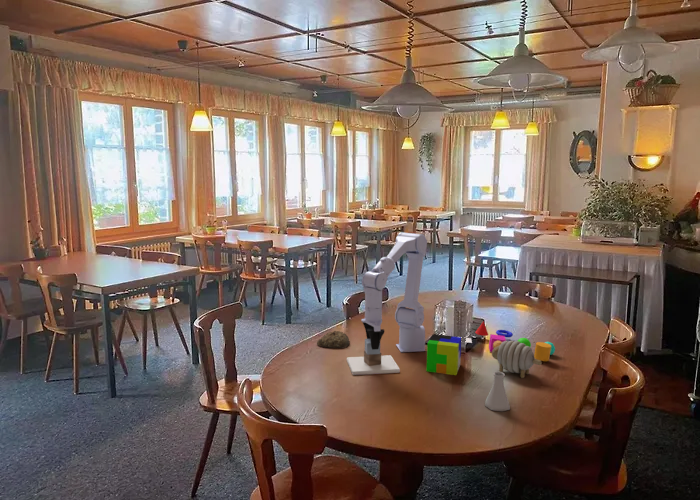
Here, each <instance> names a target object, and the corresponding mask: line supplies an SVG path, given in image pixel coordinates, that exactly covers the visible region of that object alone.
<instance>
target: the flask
mask: <svg viewBox="0 0 700 500" xmlns="http://www.w3.org/2000/svg"><path fill="white" fill-rule="evenodd" d="M493 376H494V378H493V382H492V386H491V387H490V391H489V393H488V395H487V397H486V399H485V401H484V406H485V407H486V408H488V409H489V410H491V411H496V412H505V411H509V410H511V408H510V402H509V399H508V396H507V392H506V389H505V384H504V378H505V376H506V375H505V373H504V372H499V371H493Z"/></svg>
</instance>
